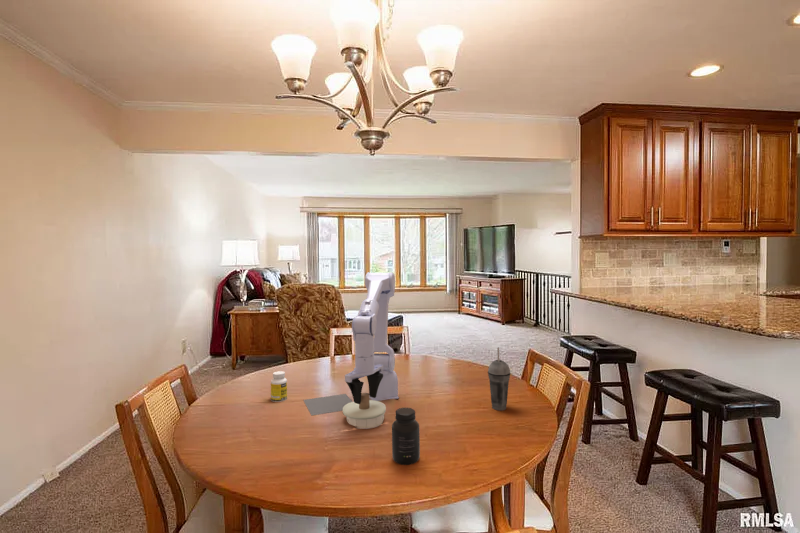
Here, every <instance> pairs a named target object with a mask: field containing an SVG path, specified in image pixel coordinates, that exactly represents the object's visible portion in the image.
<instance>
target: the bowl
mask: <svg viewBox="0 0 800 533" xmlns="http://www.w3.org/2000/svg"><path fill="white" fill-rule="evenodd" d="M384 420H385V413H384V414H383V415H381V416H379V417H376V418H372V419H352V418H349V417H346V421H347V423H348V424H349V425H351V426H354V427H355V429H358V430H359V429H360V430H362V429H364V430H367V429H373V428H378V427H379V426H381V425H383V423H384Z"/></svg>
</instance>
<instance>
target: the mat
mask: <svg viewBox="0 0 800 533" xmlns="http://www.w3.org/2000/svg"><path fill="white" fill-rule="evenodd" d="M303 402H304V404H305V406H306V407H307V408H306V409H307V410H308V412H309V414H310V416H317V415H318V416H319V415H324V414H330V413H331V414H332V413H337V412H343V407H344V406H345V405H346V404H348V403H350V402H353V400H352V399H351V398H350V397H349V396H348V394H347V393H342V394H341V393H340V394H334V395H333V394H332V395H328V396H327V395H326V396H321V397H314V398H312V397H311V398H306V399H303Z"/></svg>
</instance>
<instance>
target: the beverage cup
mask: <svg viewBox="0 0 800 533" xmlns="http://www.w3.org/2000/svg"><path fill="white" fill-rule="evenodd" d="M496 349H497V359H495V360H493V361H492V362H490V364H489V366H488V369H487V376H488V380H489V390H490V401H491V408H492V409H493V410H495V411H505V410H506V409H507V406H508V397H509V396H508V394H509V385H510V384H509V381H510V378H511V374H512V373H511V369H510V366H509V365H508V363H507V362H505V361H504V360H501V359H500V347H497V348H496Z"/></svg>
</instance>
